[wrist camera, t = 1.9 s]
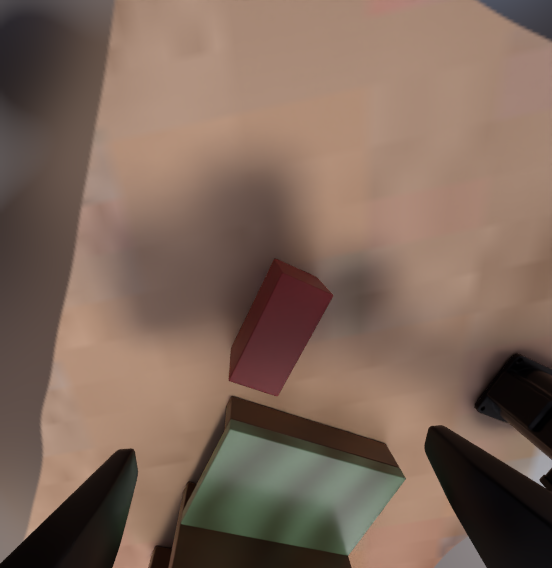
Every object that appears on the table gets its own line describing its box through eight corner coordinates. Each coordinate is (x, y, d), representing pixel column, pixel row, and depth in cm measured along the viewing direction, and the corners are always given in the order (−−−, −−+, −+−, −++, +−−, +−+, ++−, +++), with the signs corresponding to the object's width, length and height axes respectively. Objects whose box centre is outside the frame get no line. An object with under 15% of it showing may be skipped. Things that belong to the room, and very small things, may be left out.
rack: (386, 443, 27) (442, 541, 19) (293, 576, 31) (310, 697, 24) (231, 395, 23) (226, 493, 16) (151, 553, 28) (117, 689, 20)
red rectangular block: (317, 277, 21) (334, 295, 17) (271, 363, 23) (277, 397, 19) (274, 257, 20) (281, 272, 16) (230, 349, 22) (228, 381, 18)
